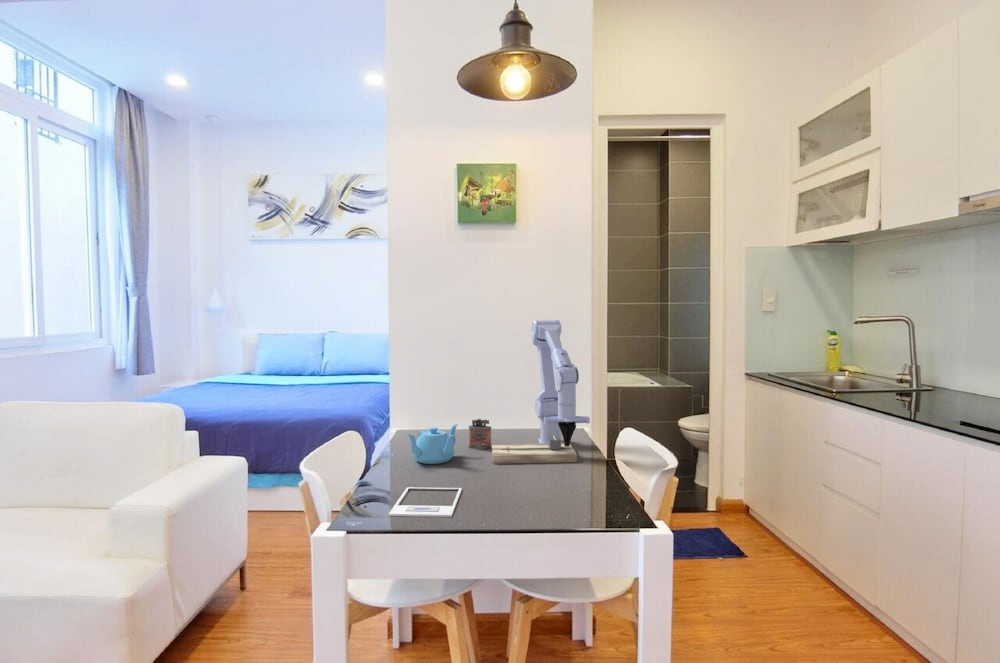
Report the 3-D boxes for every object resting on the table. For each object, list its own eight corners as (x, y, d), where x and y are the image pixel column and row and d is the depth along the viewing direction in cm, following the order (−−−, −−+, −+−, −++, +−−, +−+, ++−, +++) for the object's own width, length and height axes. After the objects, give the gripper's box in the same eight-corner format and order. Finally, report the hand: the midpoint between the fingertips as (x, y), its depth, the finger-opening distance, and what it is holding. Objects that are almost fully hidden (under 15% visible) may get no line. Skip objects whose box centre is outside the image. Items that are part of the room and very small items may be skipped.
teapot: (416, 453, 171) (415, 423, 170) (461, 453, 170) (460, 422, 170) (406, 466, 156) (406, 433, 156) (455, 466, 156) (455, 433, 155)
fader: (547, 445, 168) (547, 435, 168) (558, 445, 168) (558, 435, 168) (550, 449, 163) (550, 439, 163) (561, 449, 163) (561, 439, 163)
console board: (492, 451, 172) (492, 443, 172) (569, 450, 173) (569, 442, 173) (493, 463, 158) (493, 455, 158) (576, 462, 159) (576, 453, 159)
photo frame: (388, 513, 118) (407, 486, 136) (388, 517, 118) (407, 490, 136) (451, 514, 117) (461, 487, 135) (451, 518, 117) (461, 491, 135)
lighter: (467, 448, 176) (467, 419, 176) (470, 445, 180) (470, 417, 179) (489, 450, 174) (489, 420, 174) (492, 447, 177) (492, 418, 177)
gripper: (546, 406, 161) (546, 449, 162) (591, 405, 162) (591, 448, 162) (543, 402, 168) (543, 443, 169) (587, 401, 169) (587, 442, 169)
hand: (566, 445), depth 166 cm, fingers closed
